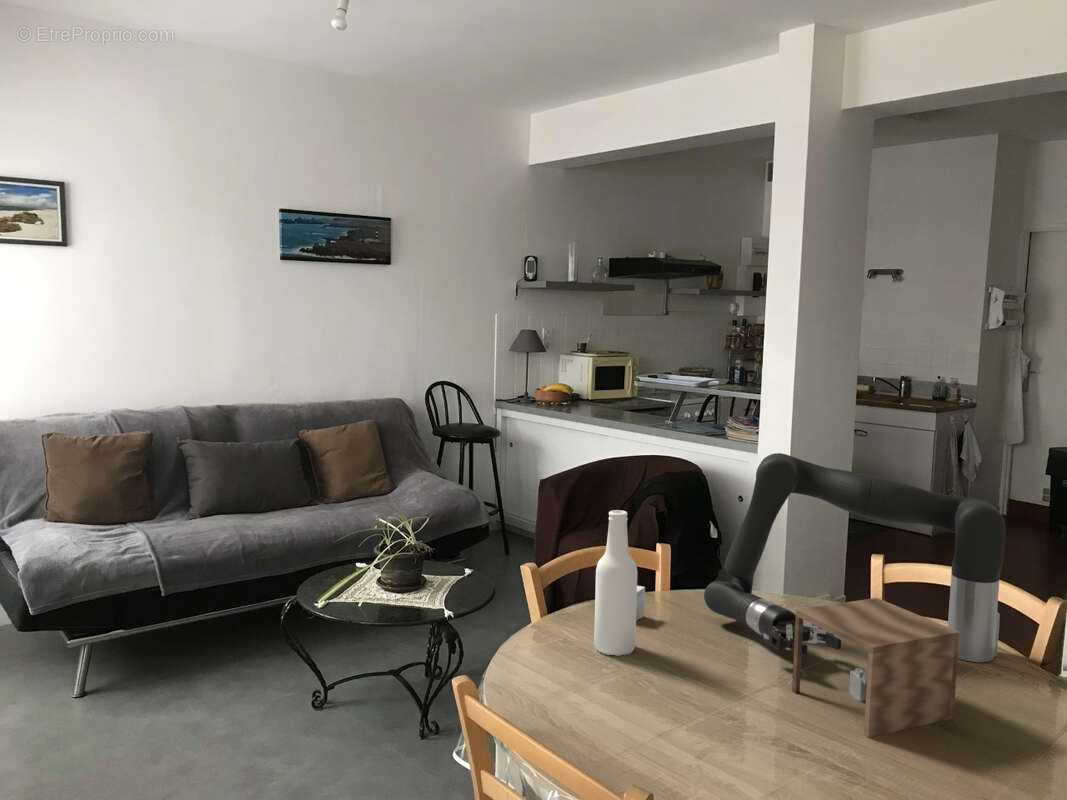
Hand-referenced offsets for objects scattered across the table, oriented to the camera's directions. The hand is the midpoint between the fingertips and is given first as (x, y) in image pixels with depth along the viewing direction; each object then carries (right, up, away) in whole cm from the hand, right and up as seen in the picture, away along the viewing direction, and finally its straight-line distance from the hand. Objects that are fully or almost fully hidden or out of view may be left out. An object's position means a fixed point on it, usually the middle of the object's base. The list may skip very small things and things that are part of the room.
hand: (822, 647), depth 180 cm
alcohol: (-40, -4, +13) cm, 43 cm away
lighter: (+4, -7, -10) cm, 13 cm away
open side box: (+5, -7, -12) cm, 15 cm away
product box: (-36, -2, +33) cm, 48 cm away
